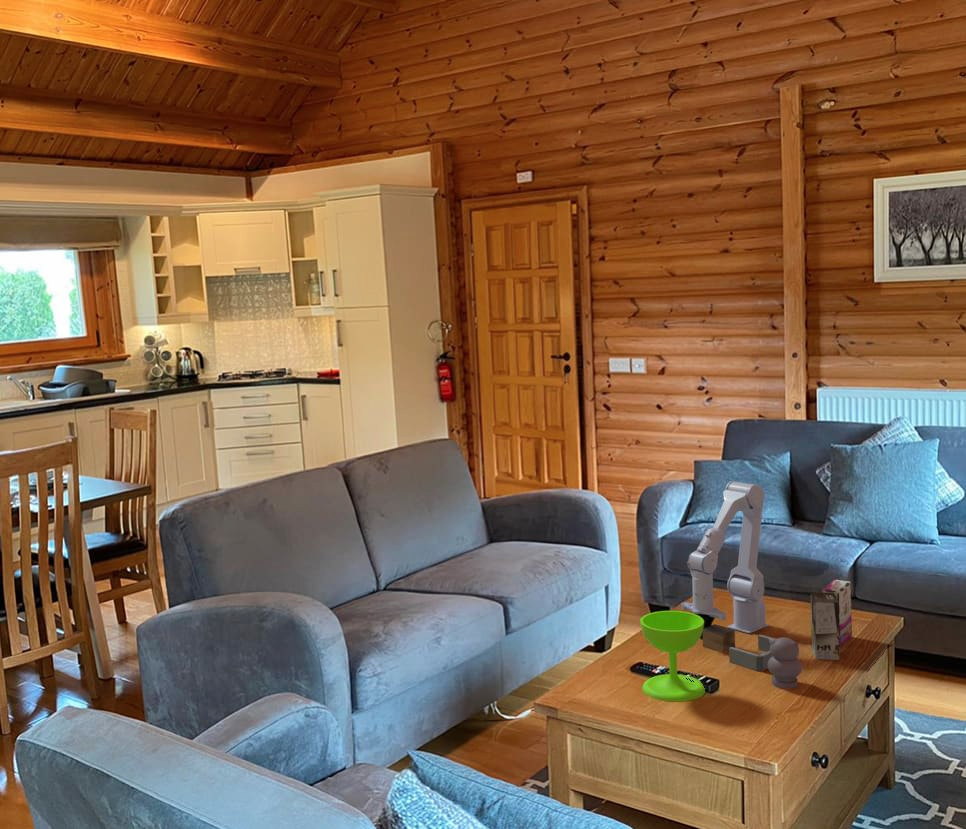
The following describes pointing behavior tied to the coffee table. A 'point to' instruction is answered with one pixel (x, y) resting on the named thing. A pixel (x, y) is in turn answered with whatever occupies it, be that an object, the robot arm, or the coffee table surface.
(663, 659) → the coffee table surface
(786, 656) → the grey stacked figurine
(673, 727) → the coffee table surface
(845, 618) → the candy bar box
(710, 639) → the brown block
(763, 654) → the bay
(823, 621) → the coffee box
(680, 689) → the wineglass
